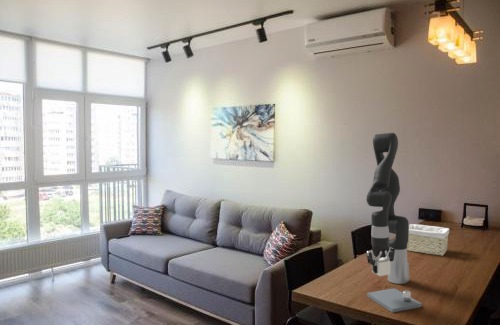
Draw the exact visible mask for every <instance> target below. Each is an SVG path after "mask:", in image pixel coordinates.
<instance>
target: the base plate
mask: <svg viewBox="0 0 500 325" xmlns="http://www.w3.org/2000/svg"><path fill="white" fill-rule="evenodd" d="M366 297H367V298H369V299H371V300H372V301H374V302H375V303H376V304H378V305H380V306H381V307H383V308H385V309H386V310H388V311H389V312H390V313H398V312H403V311H407V310H412V309H417V308H422V305H423V303H422V302H420V301H418V300H416V299H414V298H413V297H411V302H404V301H403V291H400V290H399V289H397V288H394V287H393V288H388V289H387V288H386V289H382V290H378V291H377V290H376V291H371V292H366Z"/></svg>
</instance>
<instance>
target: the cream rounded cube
mask: <svg viewBox="0 0 500 325" xmlns="http://www.w3.org/2000/svg"><path fill="white" fill-rule="evenodd" d="M371 272H372V273H373V274H375V273H374V272H373V271H372V270H371ZM389 274H390V261H389V260H386V259H384V258H383V257H382V258H380V259H379V261H378V262H377V274H376V275H377V276H379V277H384V276H388V275H389Z"/></svg>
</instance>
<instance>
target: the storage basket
mask: <svg viewBox="0 0 500 325" xmlns="http://www.w3.org/2000/svg"><path fill="white" fill-rule="evenodd" d="M449 233H450V228H448V227H442V226H433V225H426V224H425V225H424V224H413V223H409V235H408V244H407V252H408V251H409V252H415V253H422V254H426V255H434V256H444V255H445V254H446V252H447V251H448V242H449V239H448V238H449Z"/></svg>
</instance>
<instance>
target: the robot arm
mask: <svg viewBox="0 0 500 325" xmlns="http://www.w3.org/2000/svg"><path fill="white" fill-rule="evenodd" d="M372 147H373V151H374V158H375V161H376V168H375V171H374V176H373V181H372V184H371V187H370V188H369V190H368V192H367V194H366V203H367V205H368V206H369V207H375V208H376V207H377V208H382V210H378V211H373V212H371V215H370V216H371V217H370V218H371V230H370V232H371V233H370V235H371V247H372V248H371V250H366V252H365V253H366V254H365V255H366V259H367V263H368V264H370V265H371V272H372V271H373V272H374V273H373V272H372V273H373V274H374V275H377V262H378V261H379V259H380V258H384V259H386V260H389V261H390V274H389V275H387V281H388V282H390V283H393V284H396V285H397V284H398V285H403V284H407V283H408V282H410V263H409V262H408V250H407V244H408V235H409V225H410V223H409V221H408V218H407V217H406V216H403V215H401V216H400V215H396V214H395V203H396V201H397V198H398V196H399V195H400V193H401V192H400V190H401V187H400V180H399V176H398V174H397V173H396V172H395V170H394V169H393V165H394V161H395V159H396V155H397V152H398V147H399V140H398V136H397V134H396V133H395V132H386V133H380V134H379V133H378V134H374V135H373V137H372ZM384 153H386V155H385V154H384ZM390 234H395V238H393V239H390Z"/></svg>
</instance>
